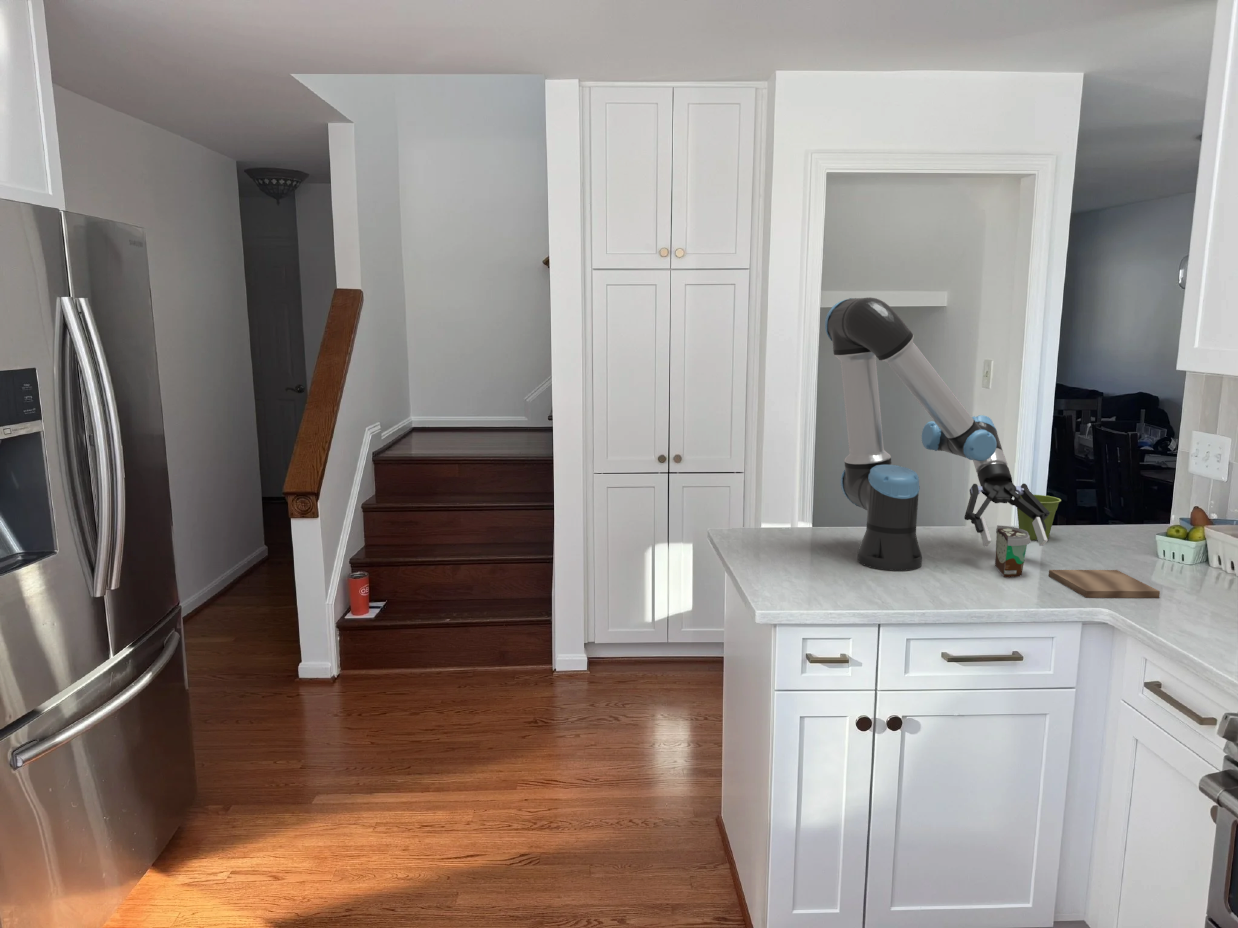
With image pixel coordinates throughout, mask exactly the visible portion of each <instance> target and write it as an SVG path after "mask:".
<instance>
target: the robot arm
mask: <svg viewBox="0 0 1238 928" xmlns="http://www.w3.org/2000/svg"><path fill="white" fill-rule="evenodd" d="M824 330H825V333H826V336H827V337H828V338H829V340H830V341H831V342H832V349H833V350H832V351H833V356H834V357H835V358H836V359H838V361H839V362H840V367H841V368H840V369H841V378H842V389H843V397H844V398H843V399H844V400H843V401H844V407H845V408H844V410H845V419H846V428H847V431H846V432H847V439H848V440H847V441H848V450H849V453H848V455H846V457H845V458H844V460H843V462H844V470H843V471H842V473H841V475H840V488H841V490H842V494H843V495H844V497H846V499H848V500H849V502H850V503H852V504H853V505H855V506H856V507H859V508H861V509H864V510H865V511H867V513H866V530H865V532H864V534H863V538H862V539H861V542H860V545H859V547H858V550H857V562H858V563H859V564H862V565H863V566H866V567H869V568H874V569H878V570H884V571H886V570H887V571H898V572H899V571H900V572H901V571H902V572H903V571H913V570H916V569H919V568H921V567H922V561H923V555H922V552H921V547H920V544H919V540H918V537H917V521H918V508H919V507H918V506H919V495H920V494H919V493H920V477H919V475H918V473H917V472H916V471H915V470H913V469H911V468H908V467H906V466H901V465H895V464H892V463H893V462H892V456H891V454H890V453H889V452H887V451H886V450H885V447H884V437H883V436H884V435H883V426H882V424H883V423H882V414H881V402H880V401H881V400H880V391H879V390H880V389H879V379H878V370H877V369H878V368H877V360H878V361H880V362H886V363H887V364H888V366H889V368H890V369H891V370H892V371H893V372H894V374H895V375H896V376H897V377H898V378H899V380H900V381H901V382H902V384H903V385H904V386H905V387H906V389H907V390H908V391H909V392H910V394H911V395H912V396H913V397H914V399H915V400H916V401H917V402H918V404H920V405H921V407H922V408H923V410H924V411H925V412H926V414H928V416H929V417H930V418H931V419H932V420H931V421H928V422H926V424H924V426H923V428H922V431H921V443H922V446H923V447H924V448H925V449H926V450H930V451H934V452H937V451H939V452H946V453H948V454H953V455H956V456H960V457H962V458H965V459H968V460H970V461H972V462H973V466H974V468H975V472H976V474H977V479H978V482H979V485H978V483H973V484H972V485H971V487H970V488H969V500H968V503H967V507H966V510H965V513H964V520H965V521H970V523H971V524H972V525H974V528H975V532H976V533H977V534H980V536H981V537H980V538H981V540H982V544H983V547H988V546H989V544H990V543H991V542H992V539H991V535H990V532H989V528H988V526H987V521H986V519H985V517H983V516H982V515H983V514H984V512H985V510H986V509H987V508H988V506H989V504H990V503H991V502H992V503H994V504H1000V503H1001V504H1009V505H1011V506H1014V507H1016V509H1017V508H1018V509H1020V510H1021V511H1022V512H1024V513H1025V514H1026V515H1028V516H1029V517H1030V518H1031V519H1033V520H1034V521H1033V522H1032V524H1033V527H1034V530H1035V533H1036V536H1037V539H1036V540H1037V543H1038V544H1039V547H1043V546H1044V545H1045V544H1046V543H1047V542H1048V540H1049V539H1047V537H1046V534H1045V530H1046V525H1045V522H1044V520H1045V519H1046V518H1047V517H1048V515H1049V514H1050V512H1049V511H1048V510H1047V509H1046V508H1045V507H1044V506H1043V505H1042V504H1041V503H1040V501H1039V500H1038V499H1037V498H1036V497H1035V496H1034V495H1035V494H1033V492H1031V491H1030V489H1029V487H1028V485H1027V484H1026V483H1024V482H1023V483H1022V484H1021V485H1015V484H1014V483H1013V477H1012V475H1011V471H1010V468H1009V467H1008V462H1007V459H1006V456H1005V454H1004V450H1003V448H1002V443H1001V441H1000V438H999V434H998V431H997V427H996V426H995V423H994V422H993V420H992V419H991V417H989V416H987V415H984V414H983V415H982V414H980V415H978V416H975V415H974V416H972V415H971V414H970V413H969V411H968V410H967V409H966V407H964V405H963V404H962V403H961V401H960V400H959V398H957V397H956V395H955V394H954V392H953V391H952V389H951V388H950V387H949V386H948V385H947V383H946V382H945V381H944V380H943V378H942V377H941V376H940V375H939V373H938V372H937V370H936V369H935V368H934V367H933V365H932V364H931V363H930V361H928V359H927V358H926V357H925V355H924V354H923V353H922V351H921V349H919V347H918V346H917V345H916V344H915V343H914V338H915V335H914V333H913V332H912V331H911V330H910V328H909V327H908V326H907V325H906V323H905V322H904V321H903V320H902V318H901V316H900V315H898V313H896V312H895V310H894V309H893V308H892V307H891V306H890V305H889V304H888V303H886V302H885V301H883V300H882V299H879V298H876V297H861V298H860V297H859V298H857V297H855V298H852V297H851V298H850V297H849V298H846V299H843V300H841V301H838V302H837V303H835V304H834V305H833V306H832V307H831V308H830V310H829V311H828V312H827V313H826V316H825V320H824ZM980 493H981V494H983V495H984V496H985V497H986V498H985V500H984V501H983V502H982V504H981V506H980V507H979V508H978V510H977V511H976V513H974V511H975V507H976V503H977V499H978V498H979V497H978V496H979V495H980ZM1020 495H1021V496H1020ZM1021 497H1022V498H1023V499H1024V500H1023V499H1022V498H1021Z"/></svg>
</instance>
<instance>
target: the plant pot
mask: <svg viewBox="0 0 1238 928" xmlns="http://www.w3.org/2000/svg"><path fill="white" fill-rule="evenodd" d="M1033 495H1034V496H1035V497H1036V498H1037V499H1038V500H1039V501H1040V503H1041V504H1042V505H1043V506H1044V507H1045V508H1046V509H1047V510H1048V511H1049V512H1050V514H1049V515H1048V517H1047V518H1046V519H1045V520H1044V522H1045V525H1046V530H1045V534H1046V537H1047V540H1049V538H1050V533H1051V530H1052V527H1053V522H1054V519H1055V515H1056V511H1057V510H1058V507H1059V504H1060V503H1061V502H1062V499H1061V498H1059V497H1055V496H1050V495H1045V494H1044V495H1042V494H1033ZM1020 496H1021V495H1020ZM1021 498H1022V497H1021ZM1022 499H1023V498H1022ZM1023 500H1024V499H1023ZM1016 510H1017V511H1016V512H1017V521H1018V528H1019V529H1023V530H1025V531H1027V532H1028V535H1029V536H1030V541H1036V540H1038V539H1037V536H1036V533H1035V530H1034V527H1033V524H1032V522H1033V521H1034V520H1033V519H1031V518H1030V517H1029V516H1028V515H1026V514H1025V513H1024V512H1022V511H1021V510H1020V509H1018V508H1017V507H1016Z"/></svg>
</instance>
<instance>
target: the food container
mask: <svg viewBox="0 0 1238 928" xmlns="http://www.w3.org/2000/svg"><path fill="white" fill-rule="evenodd" d="M995 532H996V533H995V534H996V538H995V540H996V541H995V556H994V560H995V561H994V567H995V568H996V569H997V571H998V572H999V573H1000V575H1001V577H1003V578H1017V577H1021V576H1022V575H1023V570H1024V563H1025V558H1026V552H1027V547H1028V545H1029V544H1031V540H1030V536H1029V535H1028V532H1027V531H1025V530H1023V529H1019V527H1015V526H1010V525H1009V526H1008V525H1001V524H1000V525H999V524H998V525H996V531H995ZM1020 575H1021V576H1020Z"/></svg>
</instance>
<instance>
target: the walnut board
mask: <svg viewBox="0 0 1238 928" xmlns="http://www.w3.org/2000/svg"><path fill="white" fill-rule="evenodd" d="M1048 577H1049V578H1051V579H1053V580H1055V581H1056V582H1059V583H1060V584H1062V585H1063V586H1065V587H1066V588H1068V589H1070V590H1072V591H1074V592H1075V593H1077V594H1078V595H1080V596H1082V597H1084V599H1085V598H1087V599H1088V598H1089V599H1092V598H1093V599H1097V598H1098V599H1099V598H1100V599H1101V598H1102V599H1103V598H1104V599H1108V598H1109V599H1114V598H1115V599H1117V598H1118V599H1127V598H1128V599H1133V598H1134V599H1137V598H1138V599H1159V598H1160V595H1161V591H1160V590H1158V589H1156V588H1154V587H1153V586H1151V585H1148V584H1146V583H1144V582H1142V581H1140V580H1138V579H1136V578H1134V577H1132V576H1130V575H1128V574H1126V573H1124V572H1122V571H1120V570H1118V569H1048Z"/></svg>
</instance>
